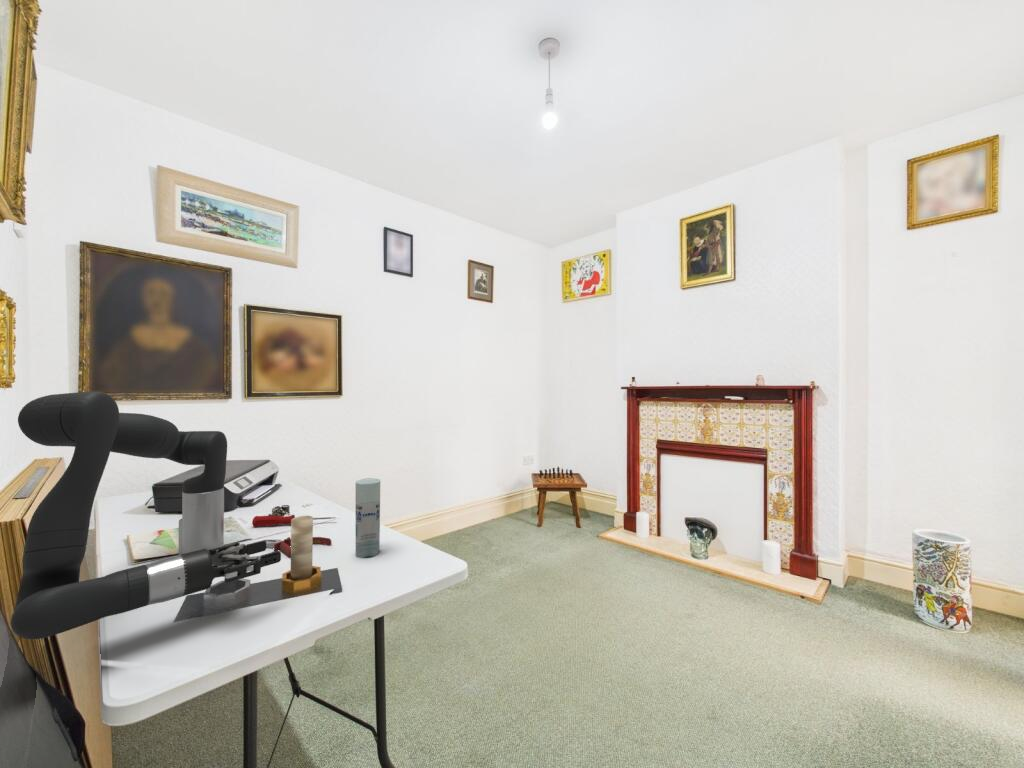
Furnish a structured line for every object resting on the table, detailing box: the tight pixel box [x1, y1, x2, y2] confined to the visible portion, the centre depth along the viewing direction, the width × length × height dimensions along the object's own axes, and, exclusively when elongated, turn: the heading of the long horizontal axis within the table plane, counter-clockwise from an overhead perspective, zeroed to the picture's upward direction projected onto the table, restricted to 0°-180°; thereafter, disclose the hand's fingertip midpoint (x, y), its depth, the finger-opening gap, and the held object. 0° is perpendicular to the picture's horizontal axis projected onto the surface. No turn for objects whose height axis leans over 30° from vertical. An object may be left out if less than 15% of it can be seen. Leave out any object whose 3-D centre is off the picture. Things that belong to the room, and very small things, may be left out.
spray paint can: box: [355, 477, 381, 559], centre depth 114 cm, size 6×6×20 cm
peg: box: [290, 515, 314, 580], centre depth 94 cm, size 4×4×15 cm
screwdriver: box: [251, 514, 337, 528], centre depth 137 cm, size 4×25×4 cm, turn 100°
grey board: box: [173, 565, 343, 623], centre depth 91 cm, size 30×11×4 cm, turn 118°
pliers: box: [263, 536, 332, 559], centre depth 117 cm, size 12×20×3 cm, turn 77°
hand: (272, 550), depth 90 cm, fingers open, 8 cm apart
